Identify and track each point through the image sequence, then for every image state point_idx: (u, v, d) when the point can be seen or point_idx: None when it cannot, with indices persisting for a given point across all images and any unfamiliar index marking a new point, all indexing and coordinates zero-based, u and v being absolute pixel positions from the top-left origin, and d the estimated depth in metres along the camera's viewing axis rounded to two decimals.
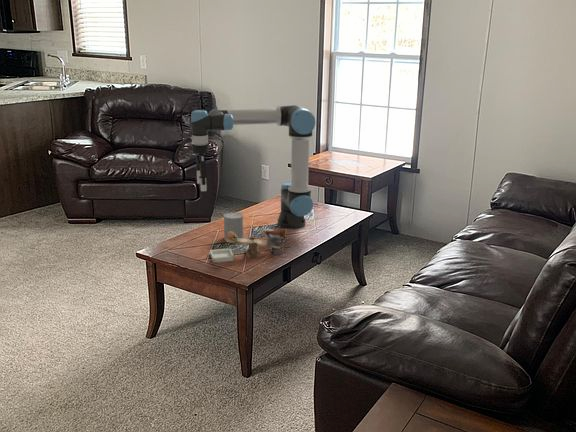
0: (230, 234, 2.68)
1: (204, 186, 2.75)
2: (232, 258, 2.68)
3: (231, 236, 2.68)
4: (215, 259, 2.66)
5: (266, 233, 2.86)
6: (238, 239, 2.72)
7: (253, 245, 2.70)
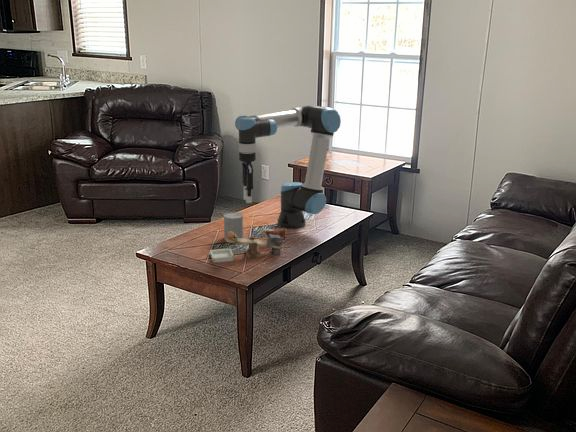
0: (230, 234, 2.68)
1: (250, 198, 2.70)
2: (232, 258, 2.68)
3: (231, 236, 2.68)
4: (215, 259, 2.66)
5: (266, 233, 2.86)
6: (238, 239, 2.72)
7: (253, 245, 2.70)
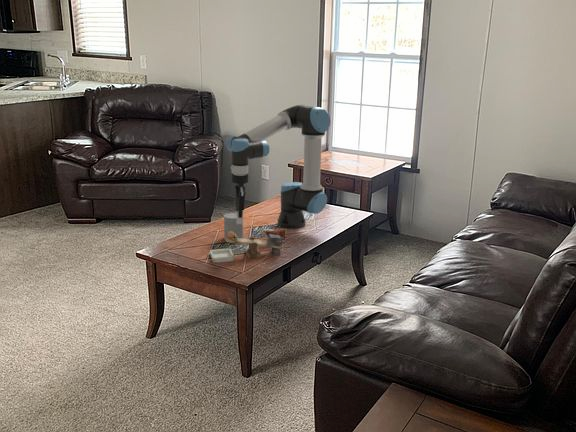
0: (230, 234, 2.68)
1: (240, 219, 2.68)
2: (232, 258, 2.68)
3: (231, 236, 2.68)
4: (215, 259, 2.66)
5: (266, 233, 2.86)
6: (238, 239, 2.72)
7: (253, 245, 2.70)
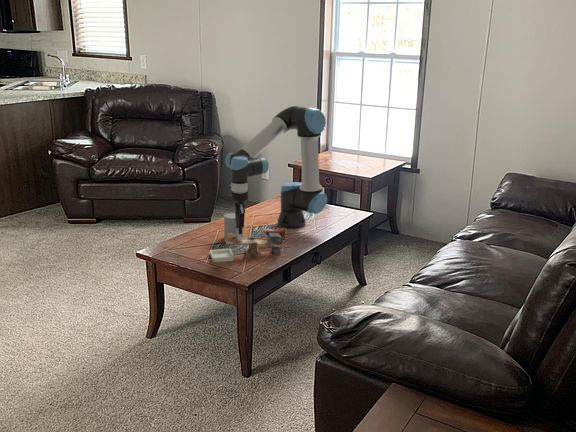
0: (229, 236, 2.68)
1: (240, 235, 2.70)
2: (232, 258, 2.68)
3: (230, 238, 2.68)
4: (215, 259, 2.66)
5: (266, 233, 2.86)
6: None
7: (253, 245, 2.70)
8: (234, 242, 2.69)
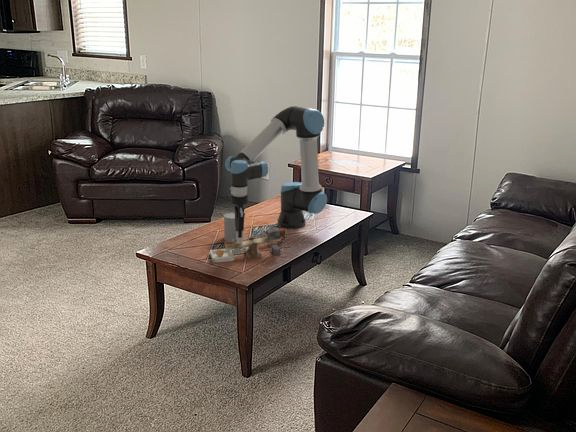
0: (221, 255, 2.70)
1: (240, 239, 2.71)
2: (232, 258, 2.68)
3: (220, 254, 2.70)
4: (215, 259, 2.66)
5: (266, 233, 2.86)
6: (237, 244, 2.72)
7: (253, 245, 2.70)
8: (234, 247, 2.69)
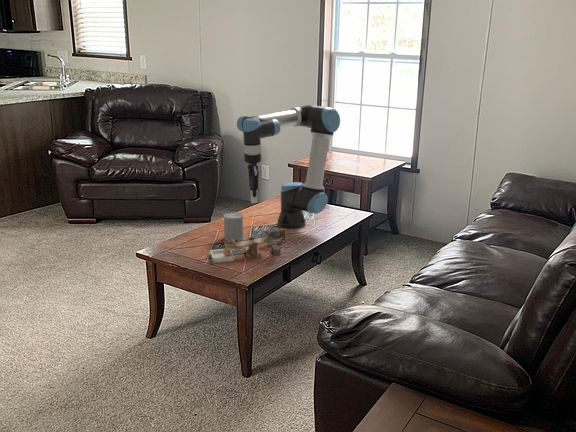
0: (225, 254, 2.71)
1: (255, 198, 2.71)
2: (232, 258, 2.68)
3: (227, 253, 2.70)
4: (215, 259, 2.66)
5: (266, 233, 2.86)
6: (237, 244, 2.72)
7: (253, 245, 2.70)
8: (234, 247, 2.69)
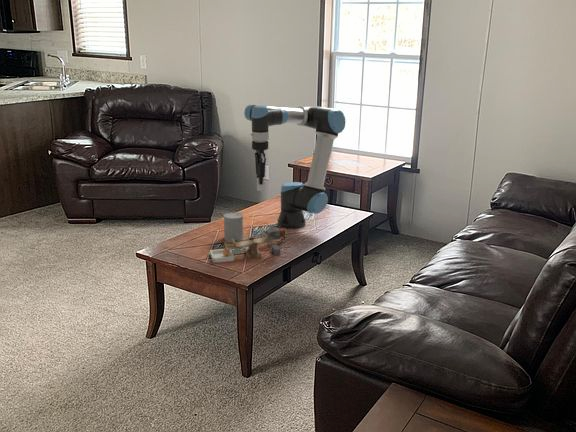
0: (224, 254, 2.71)
1: (261, 186, 2.72)
2: (232, 258, 2.68)
3: (226, 253, 2.70)
4: (215, 259, 2.66)
5: (266, 233, 2.86)
6: (237, 244, 2.72)
7: (253, 245, 2.70)
8: (234, 247, 2.69)
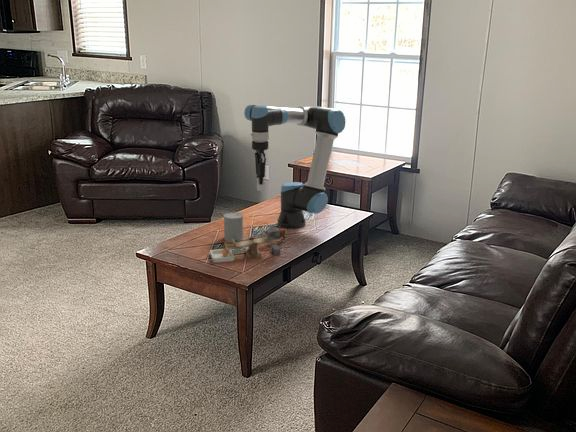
0: (224, 255, 2.71)
1: (261, 186, 2.72)
2: (232, 258, 2.68)
3: (225, 253, 2.70)
4: (215, 259, 2.66)
5: (266, 233, 2.86)
6: (237, 244, 2.72)
7: (253, 245, 2.70)
8: (234, 247, 2.69)
